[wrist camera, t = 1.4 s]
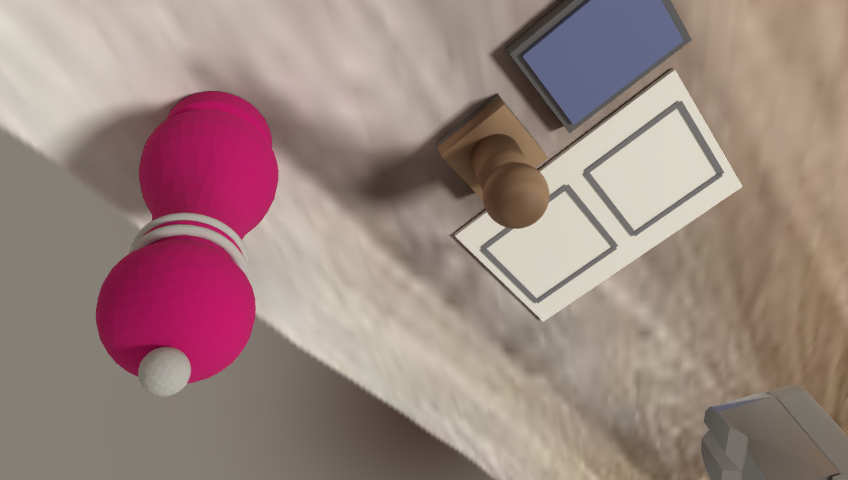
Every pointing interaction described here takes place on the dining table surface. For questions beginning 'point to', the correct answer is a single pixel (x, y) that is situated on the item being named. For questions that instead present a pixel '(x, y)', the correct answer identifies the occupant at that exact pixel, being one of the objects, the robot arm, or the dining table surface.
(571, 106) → the ink pad
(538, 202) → the stamp
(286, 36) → the dining table surface
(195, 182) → the pepper mill
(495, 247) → the print card
